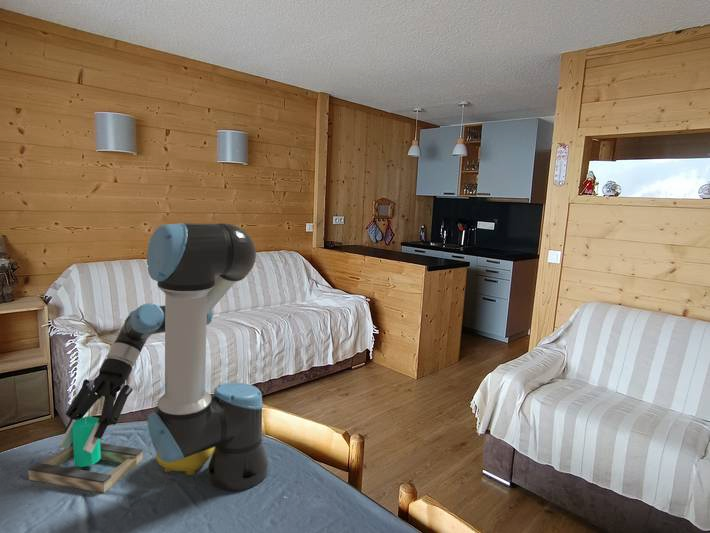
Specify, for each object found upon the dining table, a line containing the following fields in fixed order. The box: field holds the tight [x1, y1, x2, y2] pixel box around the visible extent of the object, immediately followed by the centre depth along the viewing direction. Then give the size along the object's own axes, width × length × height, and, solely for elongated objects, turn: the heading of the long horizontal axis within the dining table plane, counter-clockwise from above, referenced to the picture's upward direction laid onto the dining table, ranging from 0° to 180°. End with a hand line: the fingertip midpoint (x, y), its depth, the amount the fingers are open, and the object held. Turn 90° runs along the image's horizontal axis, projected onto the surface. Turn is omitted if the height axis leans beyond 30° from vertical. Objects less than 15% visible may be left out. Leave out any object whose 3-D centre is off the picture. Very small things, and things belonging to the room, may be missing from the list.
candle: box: [72, 415, 102, 468], centre depth 112 cm, size 6×6×12 cm
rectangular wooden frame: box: [27, 441, 144, 494], centre depth 113 cm, size 21×14×3 cm, turn 79°
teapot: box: [155, 447, 215, 476], centre depth 117 cm, size 13×20×12 cm
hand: (75, 449), depth 109 cm, fingers closed on candle, 6 cm apart
